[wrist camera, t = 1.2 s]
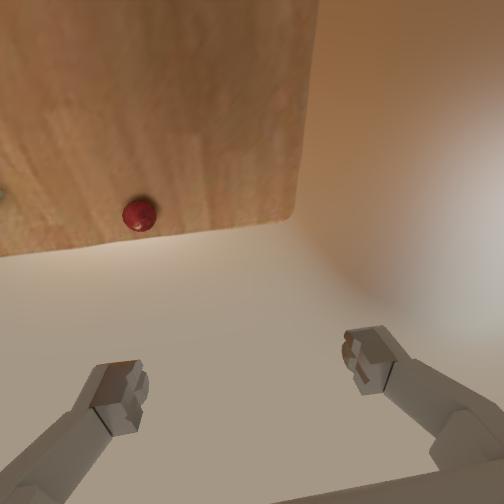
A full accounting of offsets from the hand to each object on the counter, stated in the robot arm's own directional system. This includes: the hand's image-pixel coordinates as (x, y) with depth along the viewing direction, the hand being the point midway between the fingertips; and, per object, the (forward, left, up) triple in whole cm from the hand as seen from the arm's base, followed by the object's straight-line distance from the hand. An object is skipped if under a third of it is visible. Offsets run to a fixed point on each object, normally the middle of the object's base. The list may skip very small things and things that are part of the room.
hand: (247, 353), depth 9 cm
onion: (+12, -11, -44) cm, 47 cm away
